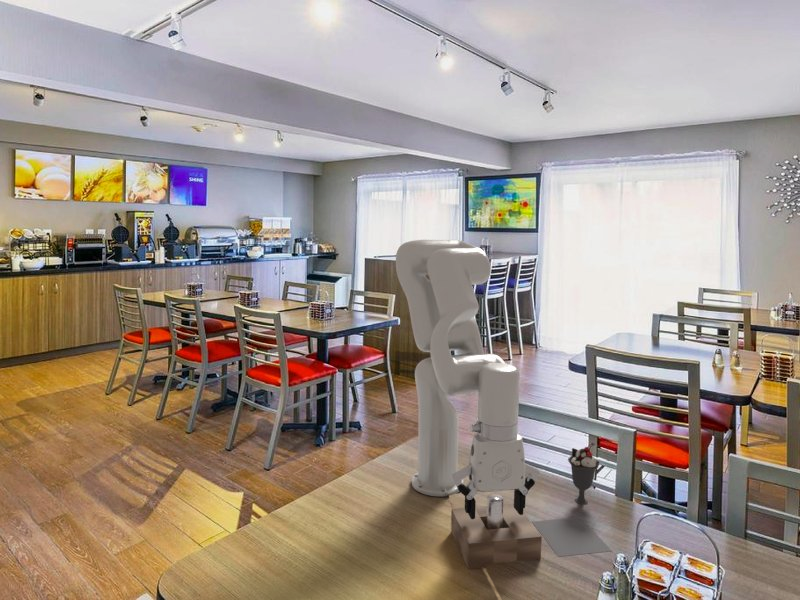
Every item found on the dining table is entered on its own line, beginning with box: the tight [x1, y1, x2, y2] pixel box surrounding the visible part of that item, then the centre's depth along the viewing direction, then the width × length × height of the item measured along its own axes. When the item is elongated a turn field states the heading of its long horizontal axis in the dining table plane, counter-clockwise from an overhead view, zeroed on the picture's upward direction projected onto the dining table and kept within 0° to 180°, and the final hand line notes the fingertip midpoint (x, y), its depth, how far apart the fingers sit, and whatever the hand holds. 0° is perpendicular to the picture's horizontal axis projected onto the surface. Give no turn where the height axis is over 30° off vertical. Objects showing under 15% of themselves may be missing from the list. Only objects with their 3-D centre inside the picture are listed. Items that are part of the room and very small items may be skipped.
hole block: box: [450, 503, 543, 570], centre depth 102 cm, size 12×14×5 cm
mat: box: [531, 516, 613, 558], centre depth 105 cm, size 12×11×1 cm
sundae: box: [567, 442, 600, 506], centre depth 117 cm, size 7×7×15 cm
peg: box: [486, 493, 504, 530], centre depth 102 cm, size 3×3×10 cm
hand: (494, 513), depth 102 cm, fingers open, 9 cm apart
